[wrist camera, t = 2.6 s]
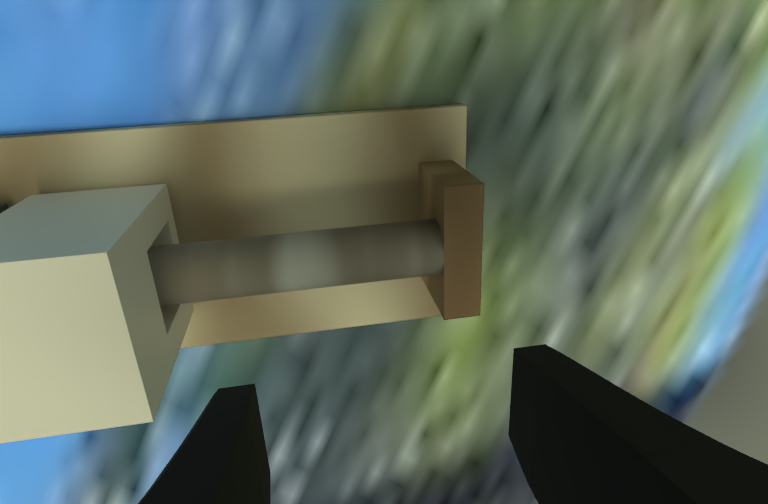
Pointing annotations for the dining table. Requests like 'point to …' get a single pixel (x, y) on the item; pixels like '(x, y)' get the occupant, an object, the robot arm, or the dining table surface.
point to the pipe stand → (289, 214)
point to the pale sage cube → (84, 311)
